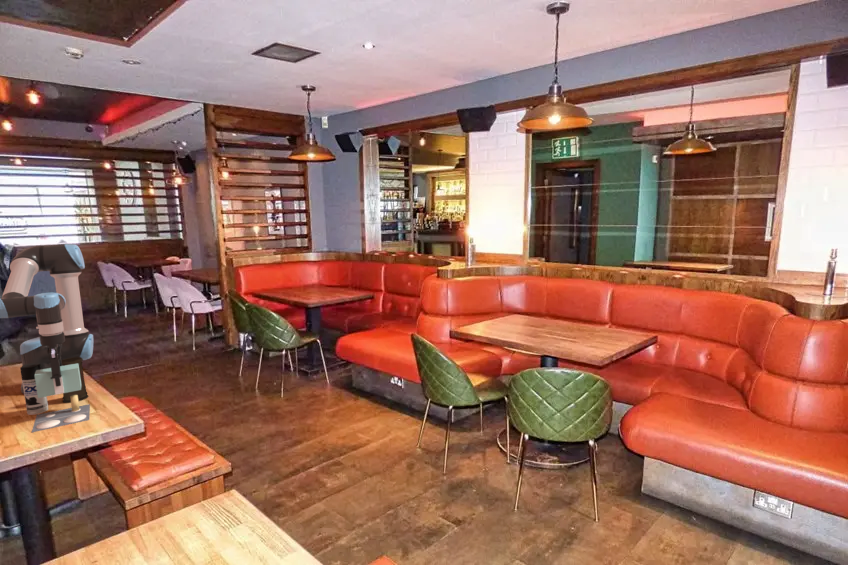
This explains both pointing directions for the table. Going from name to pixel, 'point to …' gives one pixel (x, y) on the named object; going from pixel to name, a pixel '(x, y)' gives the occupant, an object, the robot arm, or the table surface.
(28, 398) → the spray can
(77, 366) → the pale green block
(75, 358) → the container
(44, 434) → the table surface
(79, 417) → the slate board
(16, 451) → the table surface
